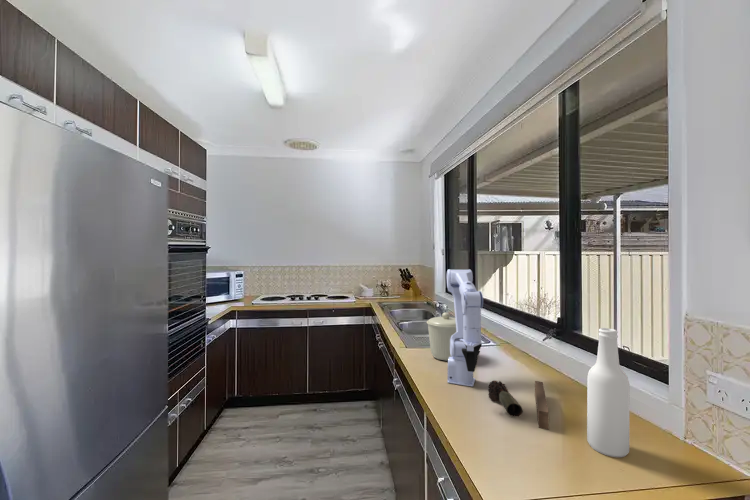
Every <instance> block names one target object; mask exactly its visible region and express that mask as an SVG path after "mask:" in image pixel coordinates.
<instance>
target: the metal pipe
mask: <svg viewBox="0 0 750 500" xmlns="http://www.w3.org/2000/svg"><path fill="white" fill-rule="evenodd" d="M487 387H488V390H487V391H488V398H489V399H490V401H492V402H495V403H501V405H502V406H503V408H504V410H505V412H506V414H508V415H509V416H510V417H514V418H515V417H516V418H517V417H521V416H522V414H523V412H524V411H523V410H524V409H523V408H522V405H520V404H519V402H518V401H517V400H516V398H514V397H513V395H512V394H511V393H510V392H509V391H508V389H507V386H506V384H505V383H503V382H502V381H500V380H499V381H497V380H492V381H491V382H488V386H487Z"/></svg>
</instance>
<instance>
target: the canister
mask: <svg viewBox="0 0 750 500" xmlns="http://www.w3.org/2000/svg"><path fill="white" fill-rule="evenodd" d="M426 324H427V329H428V338H429V339H428V340H429V348H430V353H431V355H432V357H434V358H435V359H437V360H440V361H447V362H448V359H449V357H452V356H451V354H450V338H451V336H452V335H453V334H455V333H456V321H455V317H451V315H450V313H449V312H442V314H441V316H435V317H431V318H430V319H428V320H426Z"/></svg>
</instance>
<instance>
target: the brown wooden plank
mask: <svg viewBox="0 0 750 500" xmlns="http://www.w3.org/2000/svg"><path fill="white" fill-rule="evenodd" d="M534 398H535V407H536V409H535V410H536V418H537V423H538V429H544V430H549V429H550V423H549V422H550V421H549V420H550V417H549V415H550V414H549V412H550V411H549V407H548V401H547V397H546V391H545V386H544V382H543V381H538V380H534Z"/></svg>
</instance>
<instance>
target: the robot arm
mask: <svg viewBox="0 0 750 500" xmlns="http://www.w3.org/2000/svg"><path fill="white" fill-rule="evenodd" d="M473 274H474V273H473V271H472V270H471V269H470V268H468V269H450V268H449V269H447V271H446V288H447V291H448V292H449V293H451V295H452V298H453V307H454V309H453V310H454V318H455V321H456V333H455V334H453V335H452V336H451V338H450V354H451V356H452V357H449V359H448V361H447V381H446V383H448V384H452V385H453V384H454V385H460V386H466V387H467V386H468V387H474V386H475V385H474V384H475V383H476V378H475V377H474V373H475V370H476V366H477V363H478V359H479V358H478V357H479V355H480V353H481V348H482V343H483V342H482V309H483V307H484V297H483V296H484V295H483V292H482V291H481V290H477V288H476V286H475V284H474V283H473V281H474V279H473V278H474V276H473Z"/></svg>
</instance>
